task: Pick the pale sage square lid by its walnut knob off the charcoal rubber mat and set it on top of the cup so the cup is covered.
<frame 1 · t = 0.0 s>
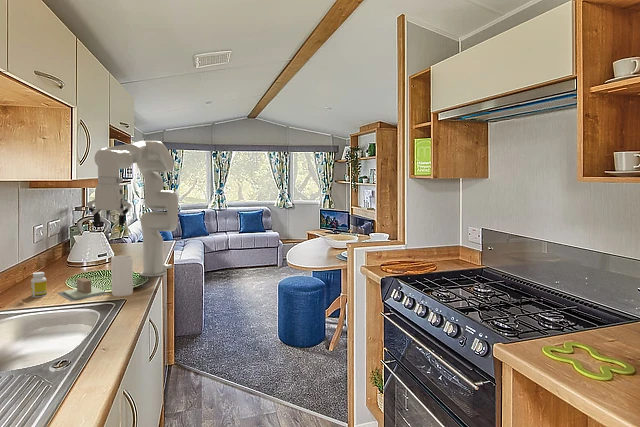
hand: (109, 224, 175), 31 cm above the worktop, tool pointing down, fingers open, 9 cm apart
supplement bottle: (39, 296, 182), on the worktop
cup: (122, 294, 189), on the worktop
lid: (84, 293, 187), resting on mat
mat: (84, 294, 187), on the worktop
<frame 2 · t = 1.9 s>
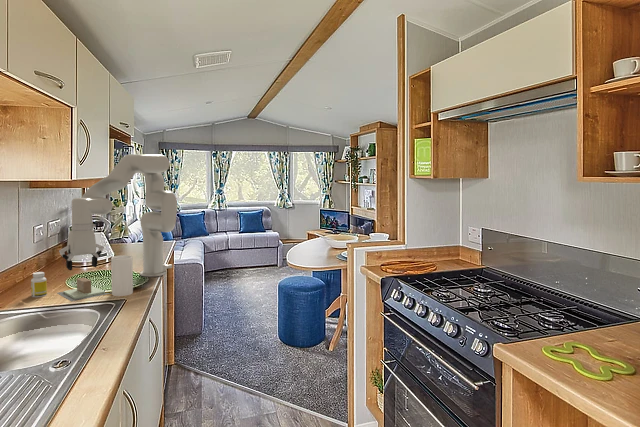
hand: (82, 268, 185), 11 cm above the worktop, tool pointing down, fingers open, 9 cm apart
nothing on the worktop moved.
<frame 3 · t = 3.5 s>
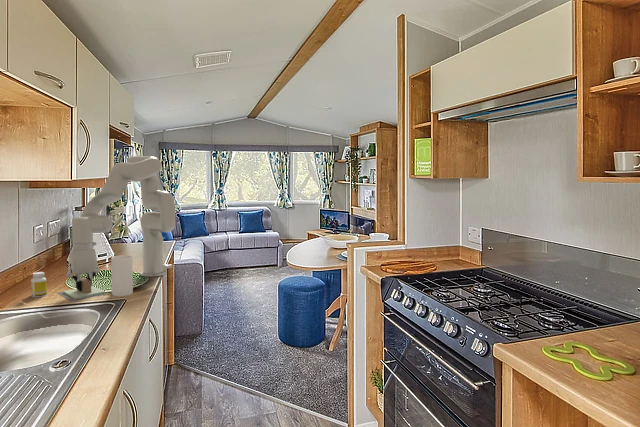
hand: (84, 288, 187), 2 cm above the worktop, tool pointing down, fingers closed on lid, 3 cm apart
lid: (84, 293, 187), resting on mat, touching gripper
everything else where it was.
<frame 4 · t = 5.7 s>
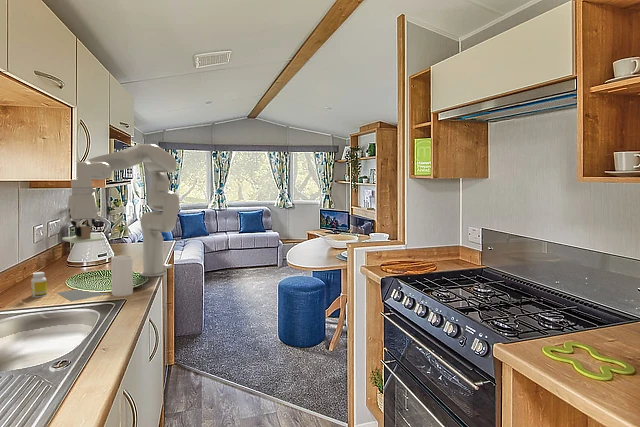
hand: (83, 235, 184), 25 cm above the worktop, tool pointing down, fingers closed on lid, 3 cm apart
lid: (83, 239, 184), point 23 cm above the worktop, touching gripper
everything else where it was.
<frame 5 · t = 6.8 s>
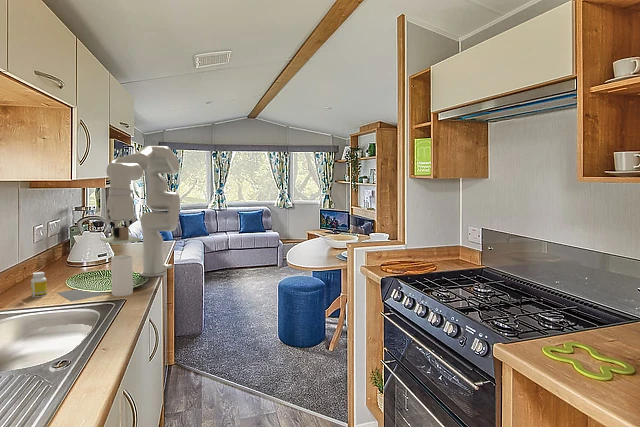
hand: (121, 236, 185), 25 cm above the worktop, tool pointing down, fingers closed on lid, 3 cm apart
lid: (121, 240, 186), point 23 cm above the worktop, touching gripper
everything else where it was.
when the fingers open (20 cm above the worktop, at t = 7.9 s): lid drops 2 cm, resting on cup.
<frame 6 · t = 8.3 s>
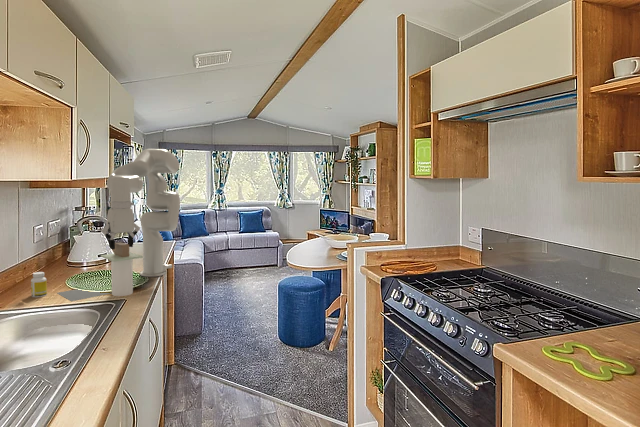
hand: (121, 247, 186), 20 cm above the worktop, tool pointing down, fingers open, 7 cm apart
cup: (122, 294, 189), on the worktop, touching lid
lid: (121, 257, 186), point 16 cm above the worktop, touching cup
everything else where it was.
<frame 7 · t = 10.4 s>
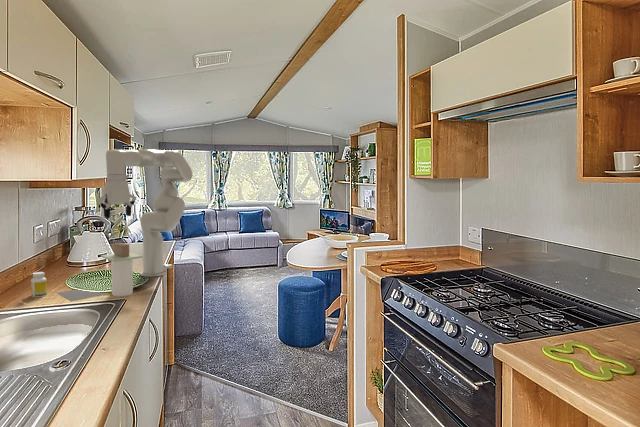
hand: (118, 216, 197), 32 cm above the worktop, tool pointing down, fingers open, 9 cm apart
nothing on the worktop moved.
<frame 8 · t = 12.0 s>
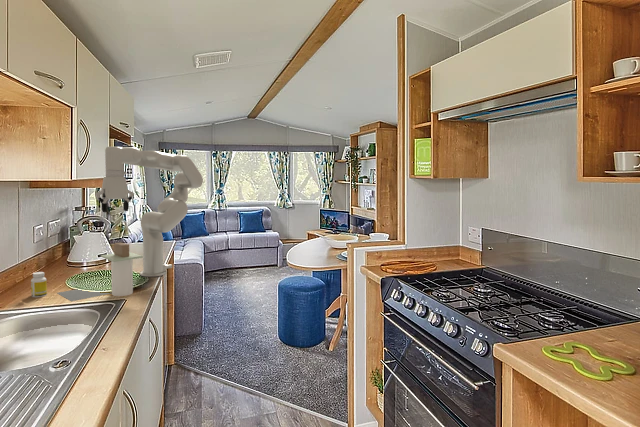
hand: (115, 211, 203), 33 cm above the worktop, tool pointing down, fingers open, 9 cm apart
nothing on the worktop moved.
at the end: lid 0.4 cm from the cup (horizontally); lid point 16.0 cm above the worktop; cup tilted 0° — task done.
